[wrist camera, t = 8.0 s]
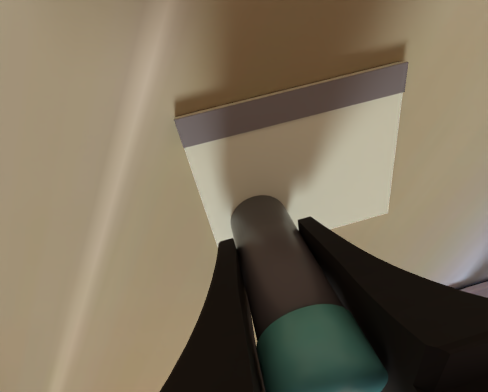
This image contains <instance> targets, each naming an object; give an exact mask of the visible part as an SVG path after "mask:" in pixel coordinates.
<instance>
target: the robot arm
mask: <svg viewBox="0 0 488 392" xmlns="http://www.w3.org/2000/svg"><path fill="white" fill-rule="evenodd" d="M298 228H299V232H300V234H301V236H302V237H303V239H304V241H305V242H306V244H307V246H308V247H309V249H310V251H311V252H312V254H313V256H314V258H315V259H316V261H317V263H318V264H319V266H320V268H321V269H322V271H323V273H324V274H325V276H326V278H327V279H328V281H329V283H330V284H331V286H332V288H333V289H334V291H335V293H336V295H337V296H338V298H339V300H340V301H341V303H342V305H343V306H344V308H346V309H347V310H349V311H350V312H351V313H352V315H353V317H354V318H355V320H356V322H357V323H358V325H359V327H360V328H361V330H362V332H363V333H364V335H365V336H366V338H367V340H368V341H369V343H370V345H371V346H372V348H373V350H374V351H375V353H376V355H377V356H378V358H379V359H380V361H381V363H382V364H383V366H384V368H385V369H386V371H387V373H388V381H387V384H386V385H385V387H384V388H383V390H382V391H381V392H488V281H487V282H483V283H480V284H477V285H474V286H470V287H467V288H464V289H461V290H458V289H455V288H452V287H449V286H446V285H443V284H440V283H437V282H434V281H431V280H428V279H425V278H423V277H420V276H418V275H415V274H412V273H410V272H407V271H405V270H403V269H400V268H398V267H396V266H393V265H391V264H389V263H387V262H385V261H383V260H381V259H378V258H376V257H374V256H372V255H371V254H369V253H367V252H365V251H363V250H362V249H360V248H358V247H356V246H355V245H353V244H351V243H350V242H348V241H346V240H345V239H343V238H342V237H340V236H338V235H337V234H335V233H334V232H332V231H331V230H329V229H328V228H327V227H325V226H324V225H322V224H321V223H319V222H318V221H317V220H315V219H314V218H312V217H311V216H310V217H306V218H303V219H299V220H298ZM160 392H265V387H264V383H263V378H262V374H261V369H260V364H259V360H258V355H257V351H256V344H255V338H254V331H253V325H252V318H251V311H250V306H249V302H248V298H247V293H246V289H245V285H244V281H243V276H242V272H241V266H240V262H239V257H238V253H237V249H236V246H235V242H234V239H233V238H231V239H227V240H223V241H220V242H219V244H218V254H217V260H216V265H215V269H214V273H213V277H212V281H211V285H210V288H209V291H208V294H207V297H206V300H205V303H204V306H203V309H202V311H201V314H200V316H199V319H198V321H197V323H196V325H195V328H194V330H193V332H192V334H191V336H190V339H189V341H188V343H187V345H186V347H185V349H184V350H183V352H182V354H181V356H180V358H179V360H178V361H177V363H176V365H175V367H174V369H173V370H172V372H171V374H170V376H169V377H168V379H167V381H166V382H165V384H164V386H163V387H162V389H161V390H160Z"/></svg>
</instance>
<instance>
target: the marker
mask: <svg viewBox="0 0 488 392" xmlns="http://www.w3.org/2000/svg"><path fill="white" fill-rule="evenodd" d="M231 229H232V233H233V237H234V242H235V246H236V249H237V253H238V257H239V262H240V266H241V272H242V276H243V281H244V285H245V289H246V293H247V298H248V302H249V306H250V311H251V315H252V319H253V324H254V328H255V332H256V337H257V341H258V342H257V346H256V351H257V355H258V360H259V364H260V369H261V374H262V378H263V383H264V387H265V392H381V391H382V390H383V388H384V387H385V385H386V384H387V381H388V373H387V371H386V369H385V368H384V366H383V364H382V363H381V361H380V359H379V358H378V356H377V355H376V353H375V351H374V350H373V348H372V346H371V345H370V343H369V341H368V340H367V338H366V336H365V335H364V333H363V332H362V330H361V328H360V327H359V325H358V323H357V322H356V320H355V318H354V317H353V315H352V313H351V312H350V311H349V310H347V309H346V308H344V306H343V305H342V303H341V301H340V300H339V298H338V296H337V295H336V293H335V291H334V289H333V288H332V286H331V284H330V283H329V281H328V279H327V278H326V276H325V274H324V273H323V271H322V269H321V268H320V266H319V264H318V263H317V261H316V259H315V258H314V256H313V254H312V252H311V251H310V249H309V247H308V246H307V244H306V242H305V241H304V239H303V237H302V236H301V234H300V232H299V231H298V229H297V227H296V226H295V224H294V222H293V220H292V219H291V217H290V215H289V214H288V212H287V210H286V209H285V207H284V205H283V204H282V203H281V202H280V201H279V200H278V199H276V198H274V197H271V196H267V195H259V196H254V197H251V198H248V199H246V200H245V201H243V202H242V203H240V204H239V205H238V206H237V207H236V209H235V210H234V212H233V214H232V216H231Z"/></svg>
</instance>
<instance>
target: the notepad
mask: <svg viewBox="0 0 488 392" xmlns="http://www.w3.org/2000/svg"><path fill="white" fill-rule="evenodd" d="M407 69H408V62H396V63H392V64H388V65H384V66H380V67H376V68H372V69H368V70H364V71H359V72H355V73H351V74H347V75H343V76H339V77H335V78H331V79H327V80H323V81H319V82H315V83H311V84H307V85H303V86H299V87H295V88H291V89H287V90H283V91H279V92H275V93H271V94H266V95H262V96H258V97H254V98H250V99H246V100H242V101H238V102H234V103H230V104H226V105H222V106H218V107H214V108H210V109H206V110H202V111H198V112H194V113H190V114H186V115H182V116H178V117H175V118H174V121H175V124H176V127H177V130H178V133H179V136H180V139H181V142H182V145H183V147H184V149H185V152H186V155H187V158H188V161H189V164H190V167H191V170H192V173H193V176H194V179H195V182H196V185H197V188H198V191H199V194H200V197H201V199H202V202H203V205H204V208H205V211H206V214H207V217H208V220H209V223H210V226H211V229H212V232H213V235H214V238H215V241H216V244H217V247H218V244H219V242H220V241H223V240H227V239H231V238H233V239H234V237H233V233H232V229H231V216H232V214H233V212H234V210H235V209H236V207H237V206H238V205H239V204H240V203H242V202H243V201H245V200H246V199H248V198H251V197H254V196H259V195H267V196H271V197H274V198H276V199H278V200H279V201H280V202H281V203H282V204H283V205H284V207H285V209H286V210H287V212H288V214H289V215H290V217H291V219H292V220H293V222H294V224H295V226H296V227H297V229H298V231H299V228H298V220H299V219H303V218H306V217H310V216H311V217H312V218H314V219H315V220H317V221H318V222H319V223H321V224H322V225H324V226H325V227H327V228H328V229H329V230H330V229H333V228H337V227H340V226H344V225H348V224H351V223H355V222H358V221H362V220H365V219H369V218H372V217H376V216H379V215H383V214H387V213H388V208H389V200H390V192H391V183H392V175H393V167H394V159H395V151H396V143H397V135H398V127H399V119H400V111H401V103H402V95H403V92H405V84H406V77H407Z"/></svg>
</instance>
